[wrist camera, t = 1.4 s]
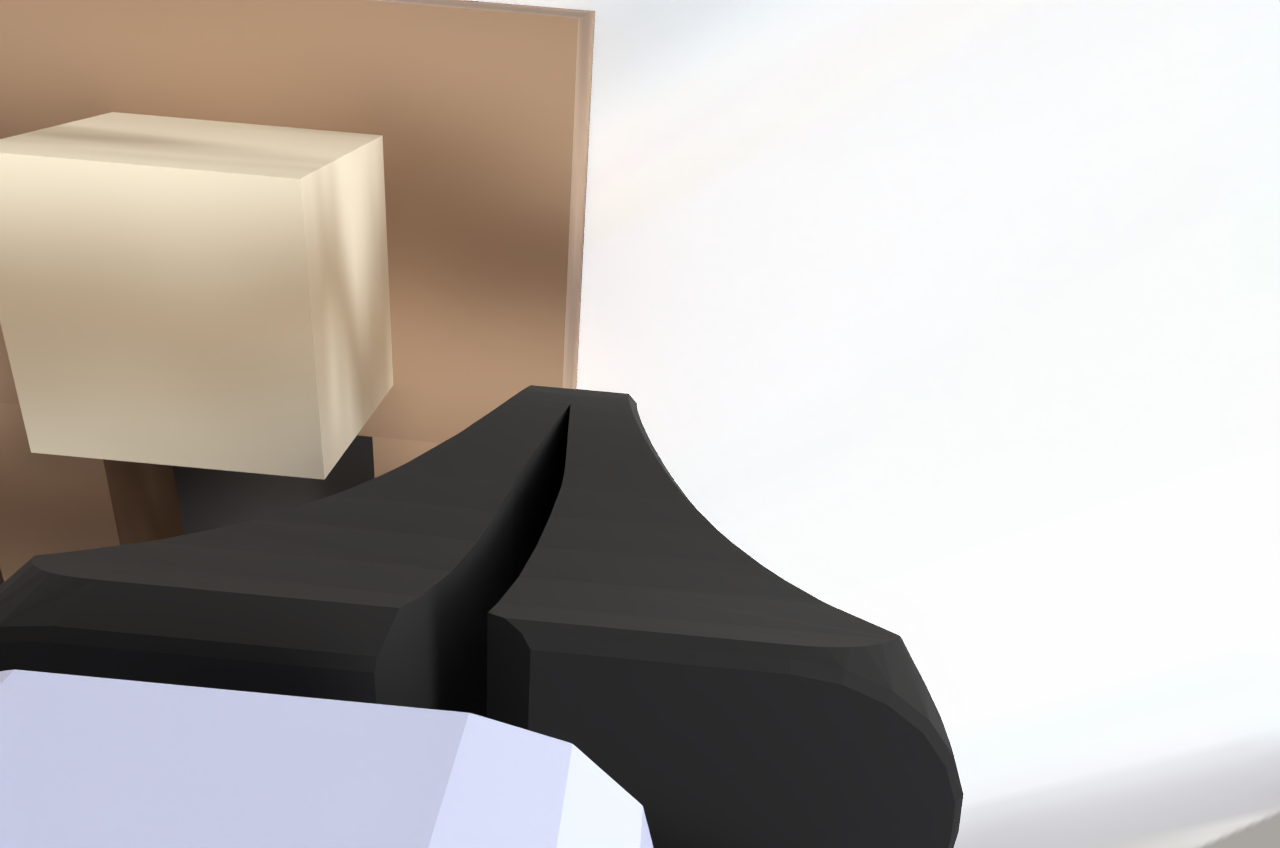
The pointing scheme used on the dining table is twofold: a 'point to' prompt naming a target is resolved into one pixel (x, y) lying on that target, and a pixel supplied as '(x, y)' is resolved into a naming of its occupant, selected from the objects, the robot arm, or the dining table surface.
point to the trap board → (415, 214)
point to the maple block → (195, 291)
